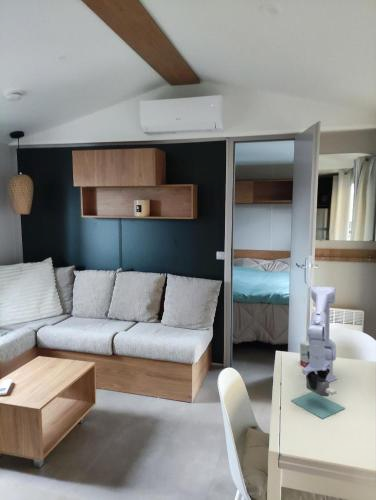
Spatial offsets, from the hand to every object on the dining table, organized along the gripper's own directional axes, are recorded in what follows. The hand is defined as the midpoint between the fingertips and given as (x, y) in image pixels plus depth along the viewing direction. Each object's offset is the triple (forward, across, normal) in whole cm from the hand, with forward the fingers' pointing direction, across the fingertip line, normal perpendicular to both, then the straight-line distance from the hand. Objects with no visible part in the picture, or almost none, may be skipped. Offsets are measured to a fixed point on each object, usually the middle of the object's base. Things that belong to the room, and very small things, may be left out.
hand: (317, 387), depth 146 cm
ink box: (+8, +27, +28) cm, 40 cm away
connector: (+1, 0, -2) cm, 2 cm away
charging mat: (+8, 0, 0) cm, 8 cm away
